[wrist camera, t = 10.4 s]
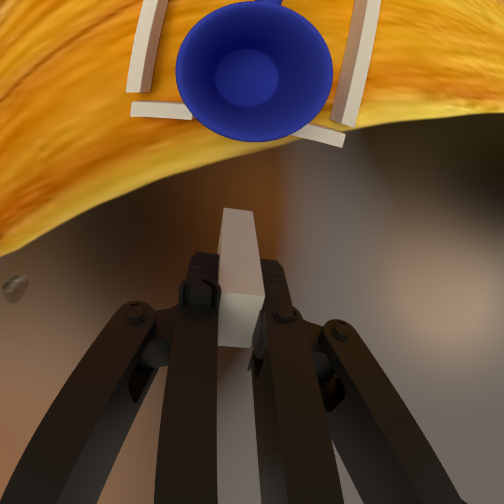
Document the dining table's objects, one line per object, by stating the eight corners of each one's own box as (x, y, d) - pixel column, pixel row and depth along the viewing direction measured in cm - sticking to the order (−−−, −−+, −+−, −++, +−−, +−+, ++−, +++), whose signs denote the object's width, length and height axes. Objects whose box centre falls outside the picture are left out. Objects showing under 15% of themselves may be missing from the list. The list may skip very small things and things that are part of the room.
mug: (309, 10, 17) (354, -27, 8) (284, 130, 23) (316, 155, 14) (214, -6, 15) (205, -57, 7) (190, 116, 22) (165, 133, 13)
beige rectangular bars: (135, 112, 21) (120, 117, 18) (181, -73, 10) (175, -90, 7) (336, 142, 24) (351, 151, 21) (372, -36, 13) (389, -46, 10)
